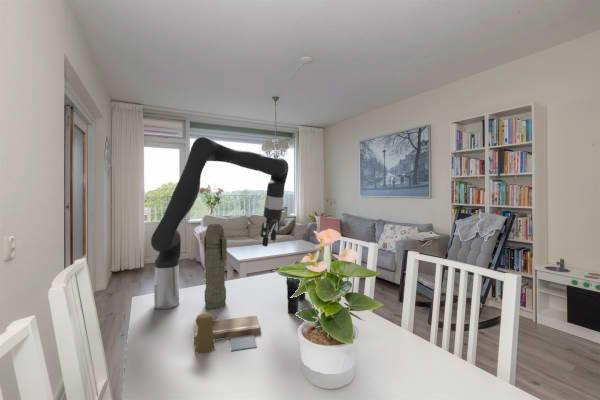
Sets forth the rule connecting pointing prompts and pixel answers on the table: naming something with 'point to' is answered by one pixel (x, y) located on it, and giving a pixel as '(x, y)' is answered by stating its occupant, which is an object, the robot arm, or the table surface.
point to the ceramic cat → (291, 288)
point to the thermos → (215, 266)
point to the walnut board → (233, 327)
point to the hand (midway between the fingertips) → (269, 242)
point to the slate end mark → (242, 342)
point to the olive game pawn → (204, 334)
